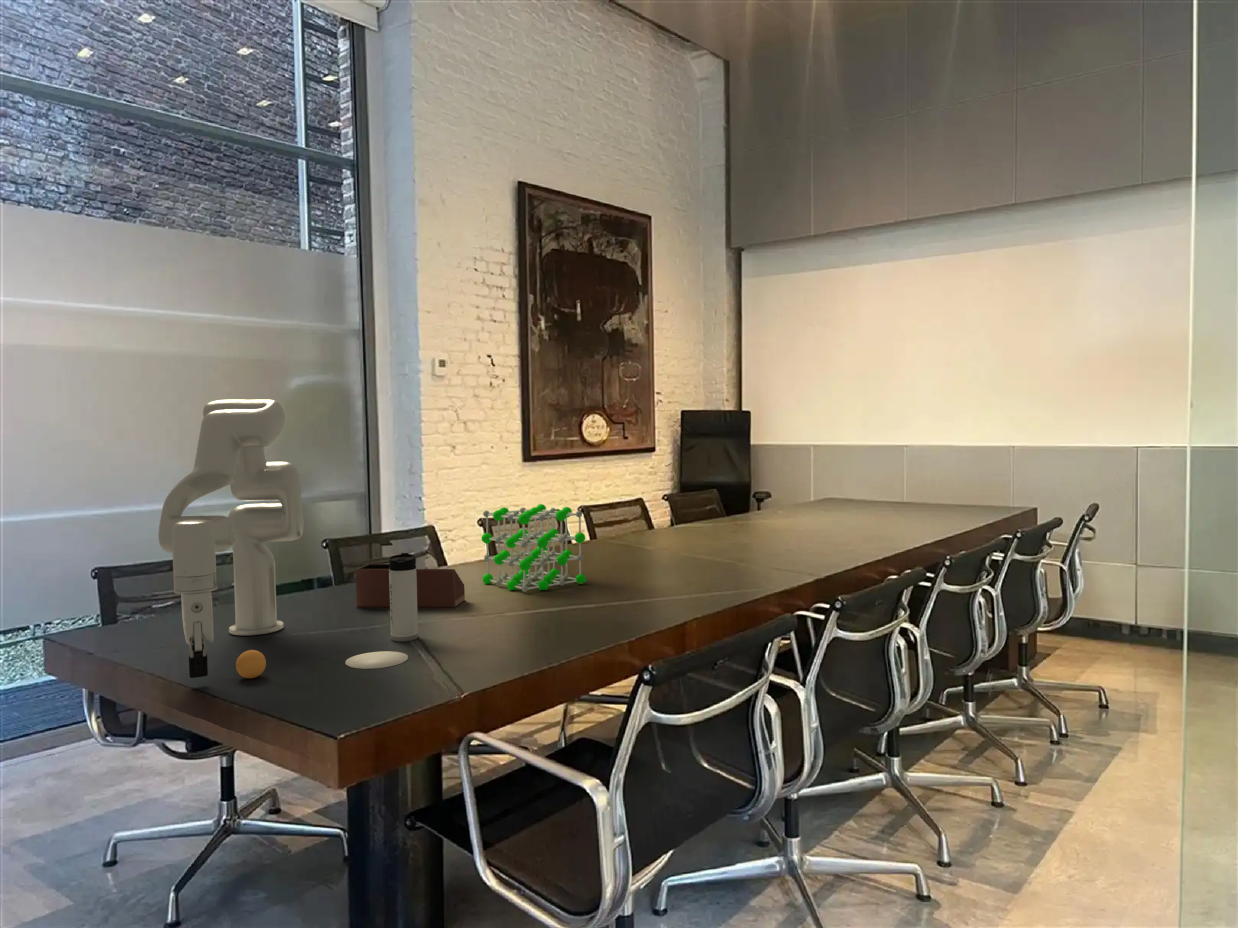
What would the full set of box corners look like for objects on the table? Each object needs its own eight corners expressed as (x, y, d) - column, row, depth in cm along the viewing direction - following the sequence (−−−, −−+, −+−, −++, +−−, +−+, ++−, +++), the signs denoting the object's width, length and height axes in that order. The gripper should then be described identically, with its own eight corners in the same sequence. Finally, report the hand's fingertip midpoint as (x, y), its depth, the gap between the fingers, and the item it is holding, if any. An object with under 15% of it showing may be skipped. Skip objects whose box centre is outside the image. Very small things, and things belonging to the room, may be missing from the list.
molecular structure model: (543, 574, 289) (542, 503, 288) (588, 584, 269) (587, 508, 268) (480, 584, 273) (478, 508, 272) (523, 595, 254) (522, 514, 253)
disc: (340, 657, 188) (340, 656, 188) (399, 649, 194) (399, 648, 194) (352, 672, 176) (351, 671, 176) (414, 662, 183) (414, 662, 183)
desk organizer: (368, 601, 250) (367, 563, 249) (467, 602, 247) (466, 563, 246) (353, 609, 239) (352, 569, 239) (456, 610, 236) (455, 569, 236)
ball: (235, 676, 175) (234, 649, 174) (264, 672, 177) (264, 645, 177) (237, 683, 170) (236, 655, 169) (267, 679, 172) (266, 651, 172)
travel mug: (420, 634, 207) (418, 552, 207) (415, 641, 201) (412, 556, 200) (394, 635, 207) (392, 552, 206) (388, 642, 201) (385, 557, 200)
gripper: (218, 587, 163) (222, 682, 164) (214, 576, 176) (217, 664, 177) (174, 591, 160) (177, 688, 160) (173, 579, 173) (176, 669, 174)
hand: (198, 675), depth 169 cm, fingers closed
